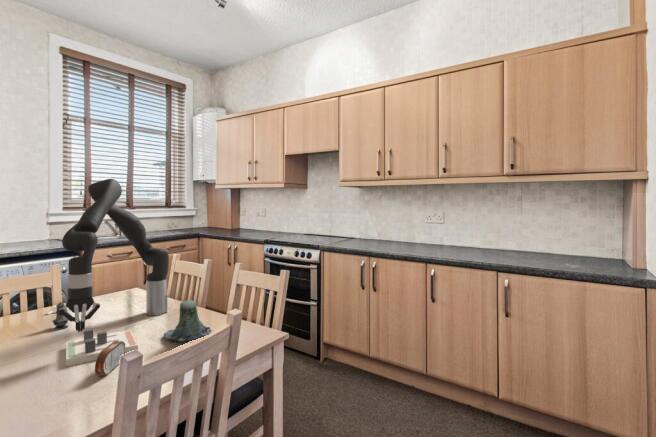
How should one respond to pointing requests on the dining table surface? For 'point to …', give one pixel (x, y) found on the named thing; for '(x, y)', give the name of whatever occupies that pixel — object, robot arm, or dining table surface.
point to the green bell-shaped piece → (187, 325)
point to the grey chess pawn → (60, 319)
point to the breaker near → (89, 345)
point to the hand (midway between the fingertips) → (80, 331)
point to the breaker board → (97, 347)
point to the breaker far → (88, 334)
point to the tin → (109, 358)
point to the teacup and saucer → (54, 310)
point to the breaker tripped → (101, 337)
